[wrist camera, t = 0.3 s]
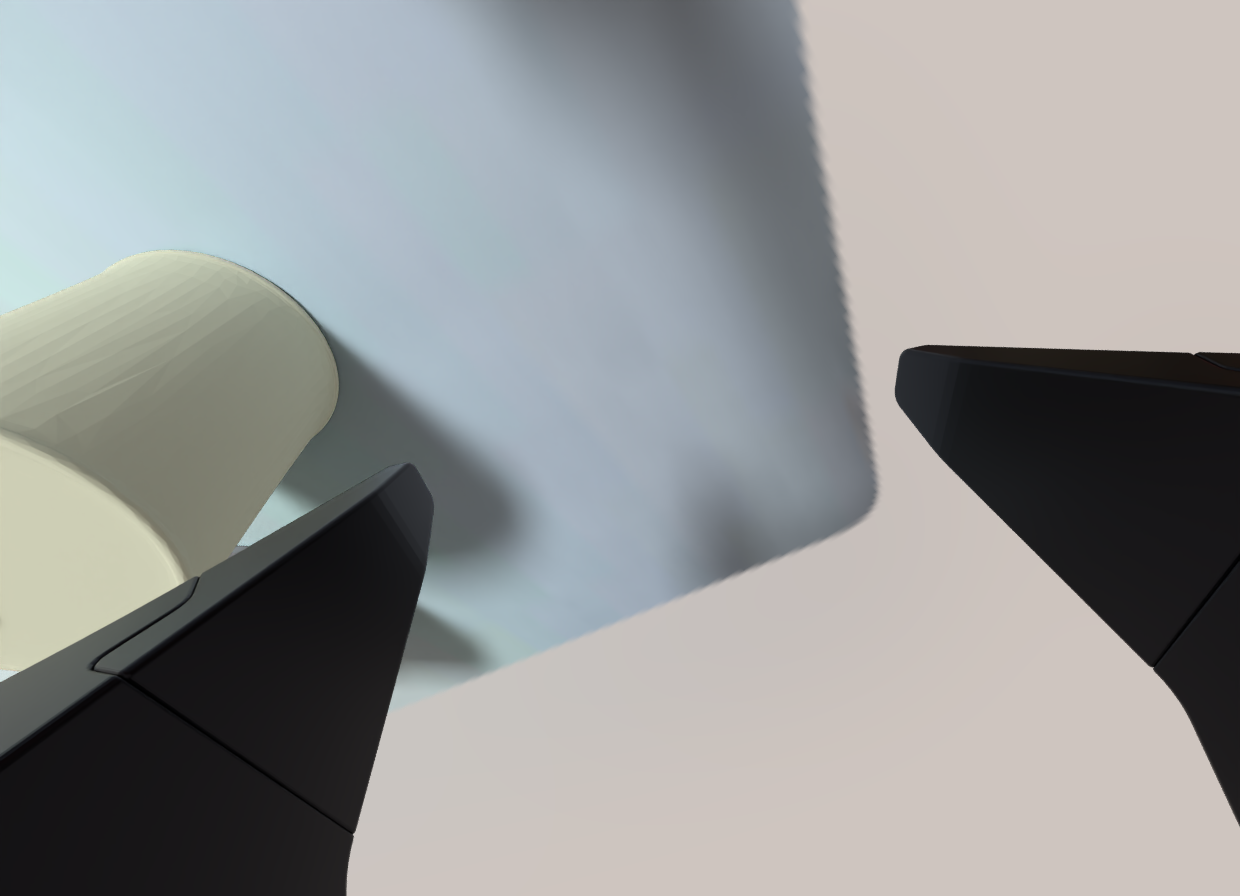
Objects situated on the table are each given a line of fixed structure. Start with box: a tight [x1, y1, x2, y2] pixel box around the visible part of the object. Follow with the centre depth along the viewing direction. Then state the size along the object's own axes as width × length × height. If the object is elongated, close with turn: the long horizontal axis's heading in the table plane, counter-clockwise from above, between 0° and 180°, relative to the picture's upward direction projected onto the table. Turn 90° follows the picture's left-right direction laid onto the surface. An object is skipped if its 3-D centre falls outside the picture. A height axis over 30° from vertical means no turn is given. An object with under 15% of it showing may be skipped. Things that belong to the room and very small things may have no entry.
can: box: [0, 250, 339, 671], centre depth 17 cm, size 9×9×12 cm
